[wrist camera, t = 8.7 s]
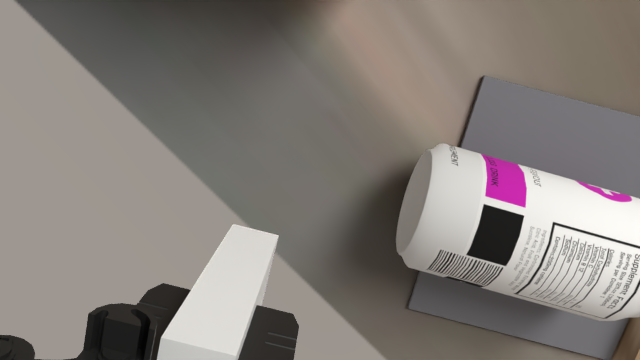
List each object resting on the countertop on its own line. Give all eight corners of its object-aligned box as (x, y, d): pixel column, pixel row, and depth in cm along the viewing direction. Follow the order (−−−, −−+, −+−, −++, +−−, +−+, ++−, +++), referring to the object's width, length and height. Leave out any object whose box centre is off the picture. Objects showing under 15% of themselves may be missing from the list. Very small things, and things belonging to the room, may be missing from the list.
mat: (483, 75, 35) (484, 75, 34) (706, 134, 35) (710, 135, 34) (407, 306, 39) (408, 308, 38) (607, 358, 39) (610, 361, 39)
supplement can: (445, 120, 30) (688, 189, 30) (409, 163, 38) (601, 217, 38) (417, 254, 27) (682, 328, 27) (385, 269, 35) (590, 326, 35)
